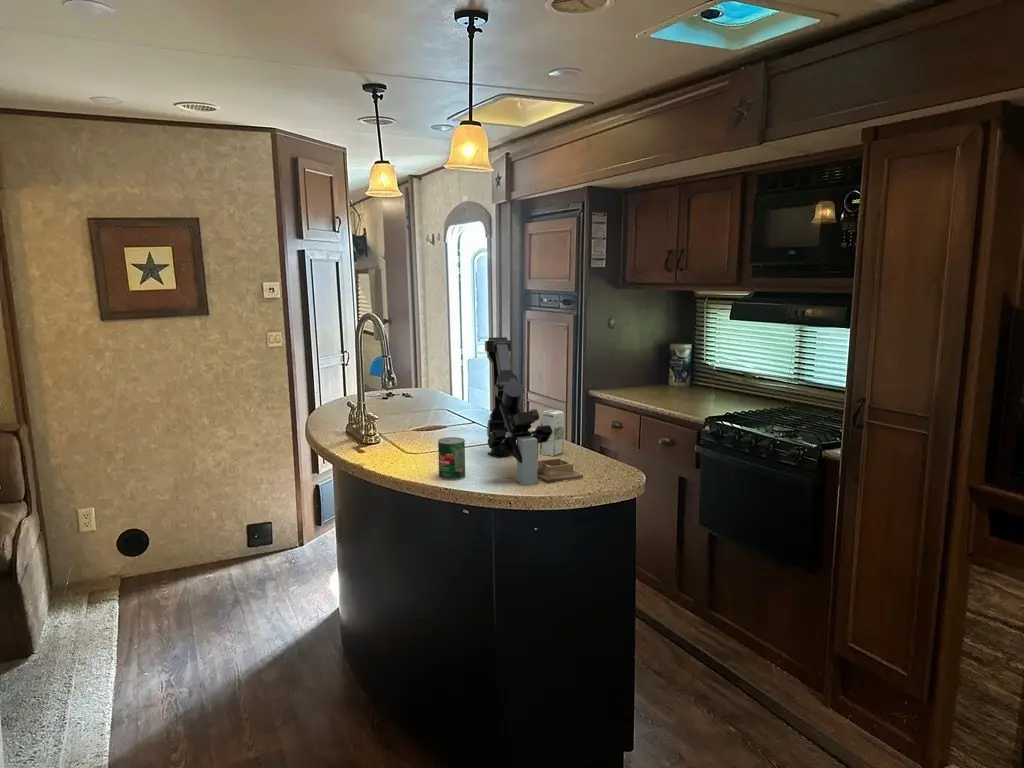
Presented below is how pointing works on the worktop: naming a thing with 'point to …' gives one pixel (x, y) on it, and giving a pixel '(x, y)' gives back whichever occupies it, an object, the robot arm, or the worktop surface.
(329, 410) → the worktop surface
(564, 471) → the pocket board
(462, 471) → the canned tomato
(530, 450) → the slate peg
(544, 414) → the syrup box
